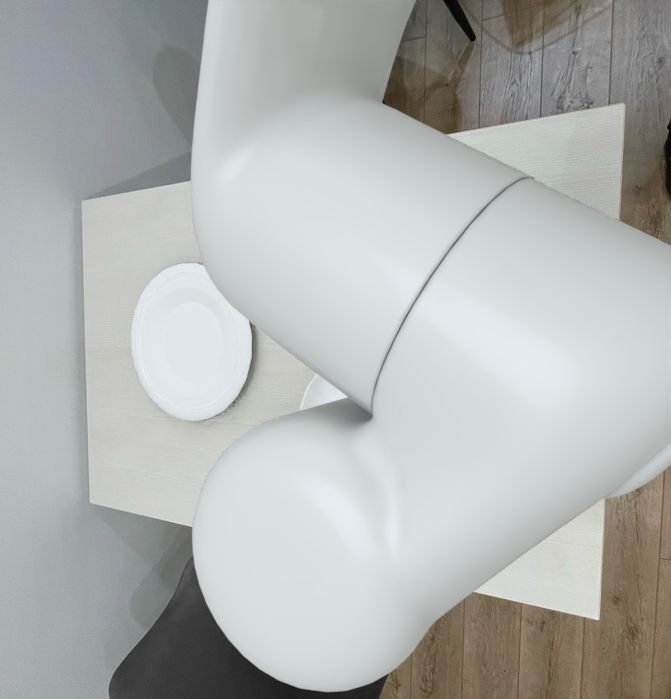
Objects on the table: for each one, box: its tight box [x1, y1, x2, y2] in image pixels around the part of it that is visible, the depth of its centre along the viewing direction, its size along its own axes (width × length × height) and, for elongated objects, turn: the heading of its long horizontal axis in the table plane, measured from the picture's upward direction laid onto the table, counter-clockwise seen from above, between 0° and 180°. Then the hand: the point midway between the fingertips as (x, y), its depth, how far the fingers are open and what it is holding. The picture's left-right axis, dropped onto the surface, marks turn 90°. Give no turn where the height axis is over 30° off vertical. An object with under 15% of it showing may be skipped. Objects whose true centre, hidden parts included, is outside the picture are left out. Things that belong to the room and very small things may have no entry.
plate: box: [130, 262, 254, 422], centre depth 86 cm, size 25×25×2 cm
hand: (499, 403), depth 41 cm, fingers closed
